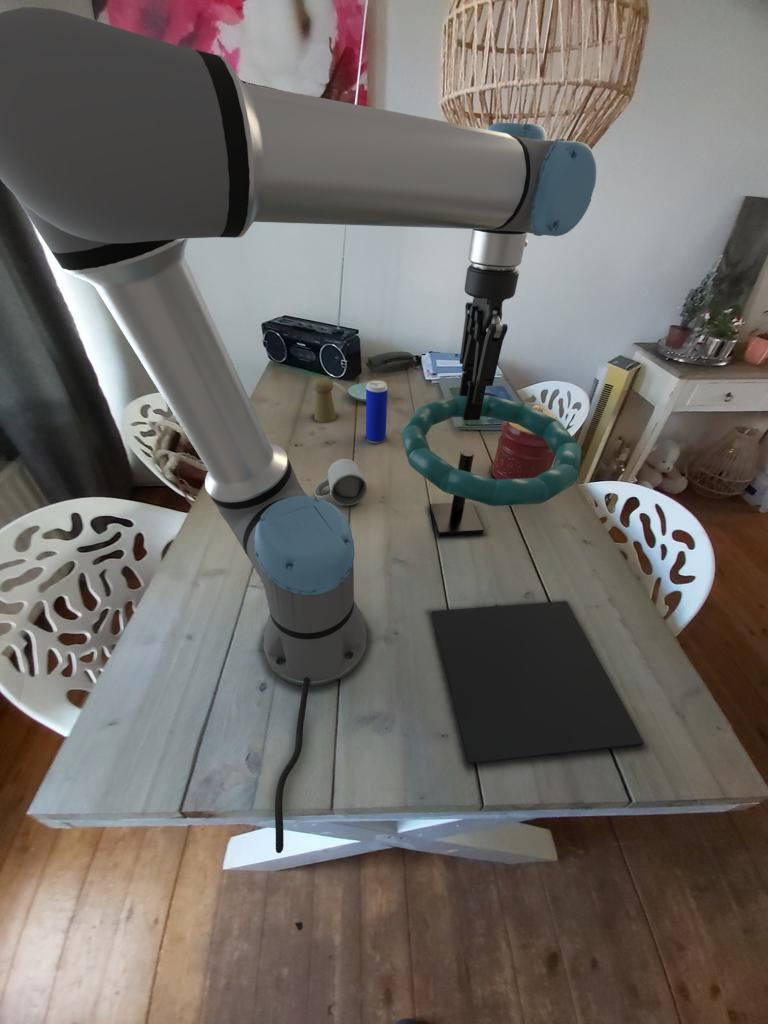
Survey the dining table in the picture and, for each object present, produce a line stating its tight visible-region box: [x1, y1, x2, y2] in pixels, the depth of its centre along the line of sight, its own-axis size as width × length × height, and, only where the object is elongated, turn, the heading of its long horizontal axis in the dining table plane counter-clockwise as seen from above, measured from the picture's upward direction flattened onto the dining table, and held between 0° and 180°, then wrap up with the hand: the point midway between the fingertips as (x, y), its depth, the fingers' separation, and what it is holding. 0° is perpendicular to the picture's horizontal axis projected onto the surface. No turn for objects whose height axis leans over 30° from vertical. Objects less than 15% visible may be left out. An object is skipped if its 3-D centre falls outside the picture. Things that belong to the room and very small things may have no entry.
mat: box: [431, 600, 645, 765], centre depth 64 cm, size 23×23×1 cm
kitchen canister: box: [491, 404, 560, 480], centre depth 98 cm, size 13×13×18 cm
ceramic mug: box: [313, 458, 368, 507], centre depth 93 cm, size 11×8×8 cm
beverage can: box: [365, 379, 389, 444], centre depth 110 cm, size 5×5×15 cm
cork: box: [312, 376, 337, 423], centre depth 120 cm, size 6×6×11 cm
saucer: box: [347, 382, 368, 403], centre depth 133 cm, size 12×12×2 cm
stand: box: [429, 449, 485, 538], centre depth 85 cm, size 9×9×16 cm
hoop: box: [400, 394, 582, 507], centre depth 69 cm, size 27×27×4 cm
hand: (468, 413), depth 78 cm, fingers closed on hoop, 3 cm apart
